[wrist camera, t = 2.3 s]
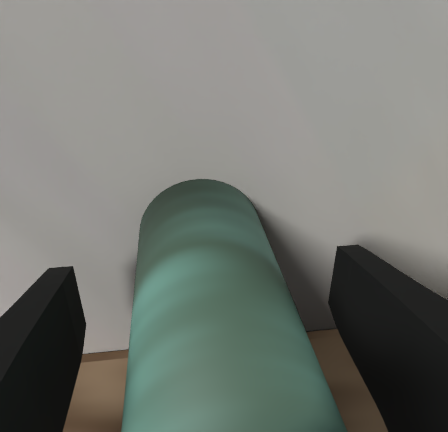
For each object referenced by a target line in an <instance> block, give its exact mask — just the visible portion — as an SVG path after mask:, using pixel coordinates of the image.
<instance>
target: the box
mask: <svg viewBox="0 0 448 432" xmlns="http://www.w3.org/2000/svg"><path fill="white" fill-rule="evenodd" d="M306 333H307V335H308V338H309V340H310V343H311V345H312V347H313V350H314V352H315V355H316V357H317V359H318V362H319V364H320V367H321V369H322V371H323V374H324V376H325V379H326V381H327V383H328V386H329V388H330V391H331V393H332V395H333V398H334V400H335V403H336V405H337V408H338V410H339V412H340V415H341V417H342V420H343V422H344V424H345V427H346V429H347V432H388V430H387V428H386V425H385V423H384V420H383V418H382V416H381V414H380V412H379V410H378V408H377V406H376V404H375V402H374V400H373V398H372V396H371V394H370V392H369V390H368V388H367V386H366V385H365V383H364V381H363V379H362V377H361V375H360V373H359V371H358V369H357V367H356V365H355V364H354V362H353V360H352V358H351V356H350V354H349V352H348V350H347V348H346V346H345V344H344V342H343V340H342V338H341V336H340V334H339V332H338V329H330V330H320V331H310V332H306ZM128 352H129V350H122V351H112V352H102V353H92V354H82V360H81V364H80V368H79V372H78V376H77V380H76V384H75V387H74V391H73V395H72V399H71V402H70V406H69V410H68V414H67V417H66V421H65V425H64V429H63V432H121V429H122V418H123V407H124V396H125V385H126V374H127V363H128Z"/></svg>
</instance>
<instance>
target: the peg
mask: <svg viewBox="0 0 448 432" xmlns="http://www.w3.org/2000/svg"><path fill="white" fill-rule="evenodd" d="M121 432H347V429H346V427H345V424H344V422H343V420H342V417H341V415H340V412H339V410H338V408H337V405H336V403H335V400H334V398H333V395H332V393H331V391H330V388H329V386H328V383H327V381H326V379H325V376H324V374H323V371H322V369H321V367H320V364H319V362H318V359H317V357H316V355H315V352H314V350H313V347H312V345H311V343H310V340H309V338H308V335H307V333H306V331H305V328H304V326H303V323H302V321H301V318H300V316H299V314H298V311H297V309H296V306H295V304H294V302H293V299H292V297H291V294H290V292H289V290H288V287H287V285H286V282H285V280H284V278H283V275H282V273H281V270H280V268H279V266H278V263H277V261H276V258H275V256H274V253H273V251H272V249H271V246H270V244H269V241H268V239H267V237H266V234H265V232H264V229H263V227H262V225H261V222H260V220H259V217H258V215H257V213H256V210H255V208H254V206H253V205H252V203H251V202H250V200H249V199H248V198H247V197H246V196H245V195H244V194H243V193H242V192H240V191H239V190H238V189H236V188H235V187H233V186H231V185H229V184H226V183H224V182H220V181H216V180H209V179H196V180H189V181H185V182H181V183H178V184H176V185H173V186H171V187H169V188H167V189H166V190H164V191H163V192H161V193H160V194H159V195H158V196H157V197H156V198H154V200H153V201H152V202H151V203H150V204H149V206H148V207H147V209H146V211H145V213H144V215H143V217H142V220H141V224H140V232H139V243H138V254H137V265H136V276H135V287H134V298H133V309H132V320H131V330H130V341H129V352H128V363H127V374H126V385H125V396H124V407H123V418H122V429H121Z"/></svg>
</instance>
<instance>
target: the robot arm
mask: <svg viewBox="0 0 448 432" xmlns="http://www.w3.org/2000/svg"><path fill="white" fill-rule="evenodd" d="M328 303H329V306H330V309H331V312H332V315H333V318H334V321H335V324H336V326H337V329H338V332H339V334H340V336H341V338H342V340H343V342H344V344H345V346H346V348H347V350H348V352H349V354H350V356H351V358H352V360H353V362H354V364H355V365H356V367H357V369H358V371H359V373H360V375H361V377H362V379H363V381H364V383H365V385H366V386H367V388H368V390H369V392H370V394H371V396H372V398H373V400H374V402H375V404H376V406H377V408H378V410H379V412H380V414H381V416H382V418H383V420H384V423H385V425H386V428H387V430H388V432H448V300H446V299H445V298H443V297H441V296H439V295H437V294H436V293H434V292H432V291H431V290H429V289H427V288H426V287H424V286H423V285H421V284H419V283H418V282H416V281H415V280H413V279H411V278H410V277H408V276H407V275H405V274H404V273H402V272H400V271H399V270H397V269H396V268H394V267H393V266H391V265H390V264H388V263H387V262H385V261H384V260H382V259H380V258H379V257H377V256H376V255H374V254H373V253H371V252H369V251H368V250H366V249H364V248H363V247H361V246H359V245H349V246H337V251H336V257H335V263H334V269H333V276H332V282H331V288H330V294H329V301H328ZM85 330H86V322H85V317H84V313H83V309H82V304H81V300H80V295H79V291H78V286H77V282H76V277H75V273H74V269H73V266H70V267H57V268H49V269H48V270H47V271H46V272H44V274H43V275H42V276H41V277H40V278H39V279H38V280H37V281H36V282H35V283H34V284H33V285H32V286H31V287H30V288H29V289H28V290H27V291H26V292H25V293H24V294H23V295H22V296H21V297H20V298H19V299H18V300H17V301H16V302H15V303H14V304H13V305H12V306H11V307H10V308H9V309H8V310H7V311H6V312H5V313H4V314H3V315H2V316H1V317H0V432H63V429H64V425H65V421H66V417H67V414H68V410H69V406H70V402H71V399H72V395H73V391H74V387H75V384H76V380H77V376H78V372H79V368H80V364H81V360H82V353H83V346H84V338H85Z"/></svg>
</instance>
